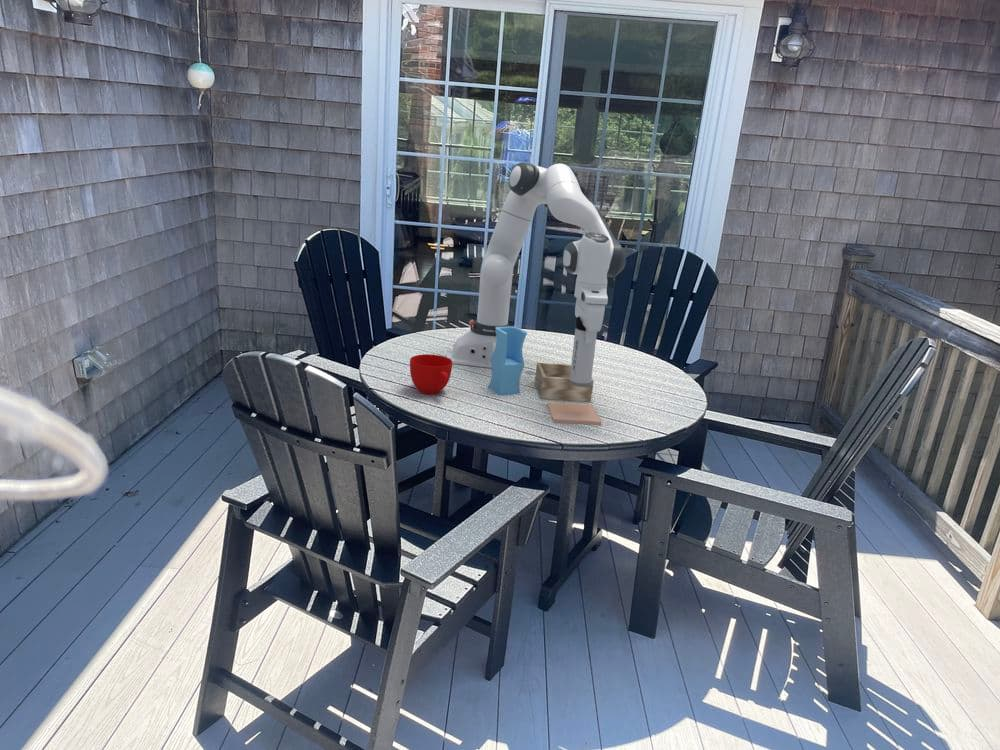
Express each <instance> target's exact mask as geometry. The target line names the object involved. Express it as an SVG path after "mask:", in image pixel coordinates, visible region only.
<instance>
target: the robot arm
mask: <svg viewBox="0 0 1000 750" xmlns="http://www.w3.org/2000/svg"><path fill="white" fill-rule="evenodd" d="M508 186H509V192H508V194H507V196H506V198H505V200H504V202H503V205H502V207H501V209H500V213H499V215H498V218H497V221H496V224H495V226H494V228H493V232H492V235H491V238H490V240H489V243H488V245H487V248H486V251H485V254H484V257H483V259H482V262H481V266H480V271H479V272H480V273H479V289H478V290H479V291H478V302H477V313H476V315H477V317H476V320H474V319H469V321H468V323H469V326H470V330H469V331H468V332H466V333H465V334H462V335H461V336H459V337H458V338H457V339H456V340H455V341H454V344H453V348H452V350H449V351H448V352H447V353H446V355H445V357H447V358H449V359H451V360H452V364H455V365H463V366H471V367H480V368H486V369H487V368H488V369H492V368H491V361H490V360H491V356H492V354H493V352H494V350H495V347H496V329H495V328H496V327H509V326H510V325H509V315H510V314H509V313H510V304H511V303H510V302H511V294H512V287H513V285H512V284H513V276H514V267H515V265H516V261H517V260H518V257H519V256H520V255H519V254H520V252H521V250H522V248H523V246H524V243H525V240H526V237H527V234H528V232H529V229H530V227H531V224H532V222H533V219H534V216H535V213H536V210H537V208H538V207H539V206H540V205H544V207H545V208H548V209H549V212H550V213H551V216H553V217H554V218H555V219H556V220H558V221H559V222H560V221H561V222H562V223H567V224H570V225H574V226H577V227H580V228H581V229H584V230H586V231H588V232H585V233H584V234H583V235H582V237H581V239H578V240H575V241H570V242H569V243H568V244H566V246H565V247H564V248H563V251H562V255H561V256H562V259H561V260H562V261H561V263H562V265H561V266H562V267H563V268H564V269H565V271H567V273H569V274H572V275H577V276H576V279H575V286H574V294H573V295H574V297H575V299H576V300H575V306H574V309H575V310H574V315H575V317H576V318H577V317H579V316H580V320H581V321H582V322H583V325H584V327H585V328H586V335H585V339H584V341H585V342H586V343H591V342H592V336H593V334H594V332H597V333H598V332H600V331H601V329H602V327H603V322H604V317H605V311H606V310H605V308H606V305H608V302H609V297H608V292H607V291H608V290H607V288H608V278H614V277H617V276H618V275H619V274H620V273H621V272H622V271H623V270H624V268H625V267H626V263H627V255H626V251H625V249H624V248H623V247H622V245H621V244H620V243H619V241H618V240H617V238H616V237H615V236H614V234H613V232H612V230H611V228H610V227H609V225H608V223H607V221H606V219H605V218H604V215H603V214H602V212H601V211H600V209H599V208H598V207H597V206H596V205H595V204H593V203H592V202H591V201H590V200H589V199H588V198H587V197H586V196H585V195H584V193H583V191H582V189H581V187H580V183H579V182H578V179H577V177H576V175H575V173H574V172H573V171H572V168H570V167H569V166H568V165H566V164H564V163H555V164H552V165H551V166H549V167H548V168H547V167H543V166H540V165H536V164H533V163H530V162H524V161H523V162H522V161H521V162H518V163H516V164H515V165H514V166H513V168H512V169H511V171H510V172H509V176H508Z"/></svg>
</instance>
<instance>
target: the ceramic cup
mask: <svg viewBox="0 0 1000 750" xmlns="http://www.w3.org/2000/svg"><path fill="white" fill-rule="evenodd" d="M452 368H453V363H452V360H451V359H449V358H447V357H446V356H444V355H439V354H431V353H430V354H416V355H413V356H412V357H411V358H410V359H409V373H410V378H411V380H412V383H413V386H414V387H415V388H416V389H417V390H418V392H419V393H420V394H423V395H429V396H430V395H432V396H433V395H438V394H440V393H441V392H442V391H443V390H444V389H445V388H446V386H447V385H448V383H449V381H450V378H451V374H452V371H453V370H452Z"/></svg>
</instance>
